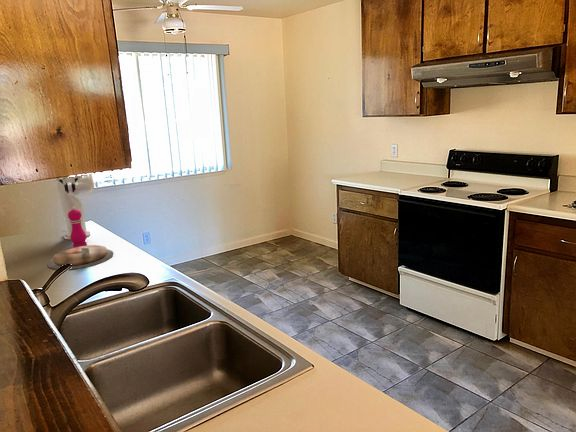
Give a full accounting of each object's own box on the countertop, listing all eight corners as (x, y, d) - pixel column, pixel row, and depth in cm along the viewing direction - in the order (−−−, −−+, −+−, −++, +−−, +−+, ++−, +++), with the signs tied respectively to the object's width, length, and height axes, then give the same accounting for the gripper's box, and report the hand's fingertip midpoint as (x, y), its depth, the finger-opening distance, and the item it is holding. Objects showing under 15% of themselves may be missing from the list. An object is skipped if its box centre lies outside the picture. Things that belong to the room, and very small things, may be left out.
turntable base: (33, 266, 199) (33, 265, 199) (81, 247, 223) (81, 246, 223) (81, 272, 189) (80, 270, 189) (126, 251, 213) (125, 249, 213)
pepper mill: (90, 244, 229) (84, 204, 224) (83, 248, 222) (76, 208, 217) (77, 244, 229) (70, 205, 225) (69, 249, 223) (61, 208, 218)
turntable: (60, 269, 191) (57, 254, 190) (48, 257, 208) (46, 244, 206) (114, 256, 204) (111, 242, 203) (98, 246, 221) (96, 233, 219)
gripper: (44, 155, 208) (51, 195, 213) (82, 152, 214) (88, 191, 219) (45, 154, 215) (52, 193, 220) (82, 151, 221) (88, 189, 225)
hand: (70, 192), depth 219 cm, fingers closed
